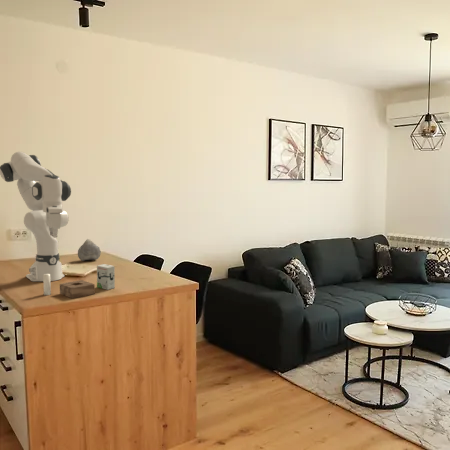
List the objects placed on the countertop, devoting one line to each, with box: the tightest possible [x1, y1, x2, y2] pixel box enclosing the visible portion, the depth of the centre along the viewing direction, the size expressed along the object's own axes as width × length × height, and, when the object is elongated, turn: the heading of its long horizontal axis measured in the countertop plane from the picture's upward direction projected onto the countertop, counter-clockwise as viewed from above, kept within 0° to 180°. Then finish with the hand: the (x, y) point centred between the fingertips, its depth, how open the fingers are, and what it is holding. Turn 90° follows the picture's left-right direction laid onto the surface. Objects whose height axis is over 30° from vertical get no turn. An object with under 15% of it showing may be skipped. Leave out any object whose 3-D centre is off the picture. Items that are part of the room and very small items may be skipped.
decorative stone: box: [77, 238, 102, 262], centre depth 312 cm, size 15×10×15 cm
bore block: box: [59, 279, 96, 299], centre depth 228 cm, size 12×12×5 cm
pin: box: [42, 274, 52, 296], centre depth 225 cm, size 3×3×10 cm
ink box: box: [96, 263, 116, 291], centre depth 240 cm, size 9×5×12 cm, turn 56°
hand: (53, 236), depth 226 cm, fingers open, 8 cm apart
